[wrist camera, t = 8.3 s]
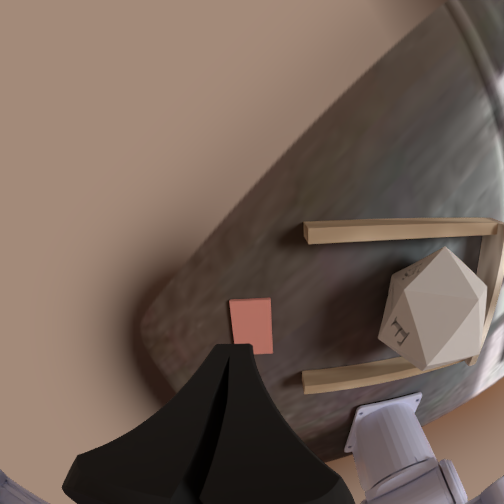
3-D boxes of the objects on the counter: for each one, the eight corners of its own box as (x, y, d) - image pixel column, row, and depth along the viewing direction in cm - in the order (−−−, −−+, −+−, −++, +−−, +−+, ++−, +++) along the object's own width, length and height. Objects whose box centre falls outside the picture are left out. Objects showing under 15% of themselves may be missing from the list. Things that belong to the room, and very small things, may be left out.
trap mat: (272, 351, 22) (272, 353, 22) (236, 352, 22) (235, 354, 22) (270, 297, 20) (270, 299, 20) (229, 299, 21) (229, 301, 20)
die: (411, 215, 19) (392, 294, 13) (499, 254, 15) (514, 348, 9) (382, 290, 24) (349, 372, 18) (457, 322, 20) (444, 410, 14)
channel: (461, 348, 22) (475, 363, 19) (301, 378, 23) (305, 402, 20) (490, 217, 18) (511, 225, 15) (303, 221, 19) (311, 232, 16)
